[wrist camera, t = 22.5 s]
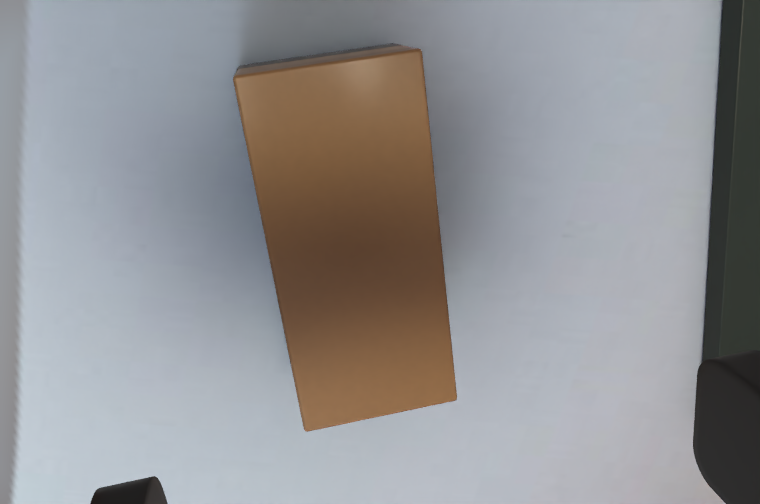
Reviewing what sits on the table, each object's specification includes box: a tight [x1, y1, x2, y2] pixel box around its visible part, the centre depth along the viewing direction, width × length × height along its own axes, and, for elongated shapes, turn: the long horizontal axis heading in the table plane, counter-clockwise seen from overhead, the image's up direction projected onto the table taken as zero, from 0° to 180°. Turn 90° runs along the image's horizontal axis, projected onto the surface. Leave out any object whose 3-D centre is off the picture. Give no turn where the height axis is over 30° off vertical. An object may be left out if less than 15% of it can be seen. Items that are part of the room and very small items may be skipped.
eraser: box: [233, 43, 457, 432], centre depth 21 cm, size 11×5×4 cm, turn 7°
